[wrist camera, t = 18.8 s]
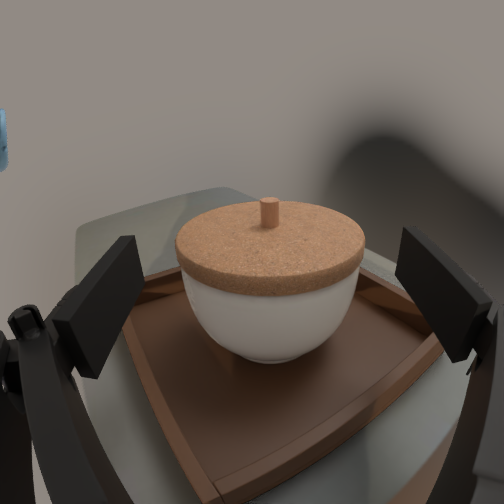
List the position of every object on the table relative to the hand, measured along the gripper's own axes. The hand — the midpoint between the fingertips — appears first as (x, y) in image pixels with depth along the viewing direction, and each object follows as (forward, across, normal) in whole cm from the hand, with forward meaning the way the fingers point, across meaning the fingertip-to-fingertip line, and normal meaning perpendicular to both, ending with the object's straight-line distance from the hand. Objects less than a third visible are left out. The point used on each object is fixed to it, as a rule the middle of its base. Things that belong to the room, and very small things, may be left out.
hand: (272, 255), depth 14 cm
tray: (+3, 0, -8) cm, 9 cm away
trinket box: (+3, 0, -8) cm, 9 cm away
